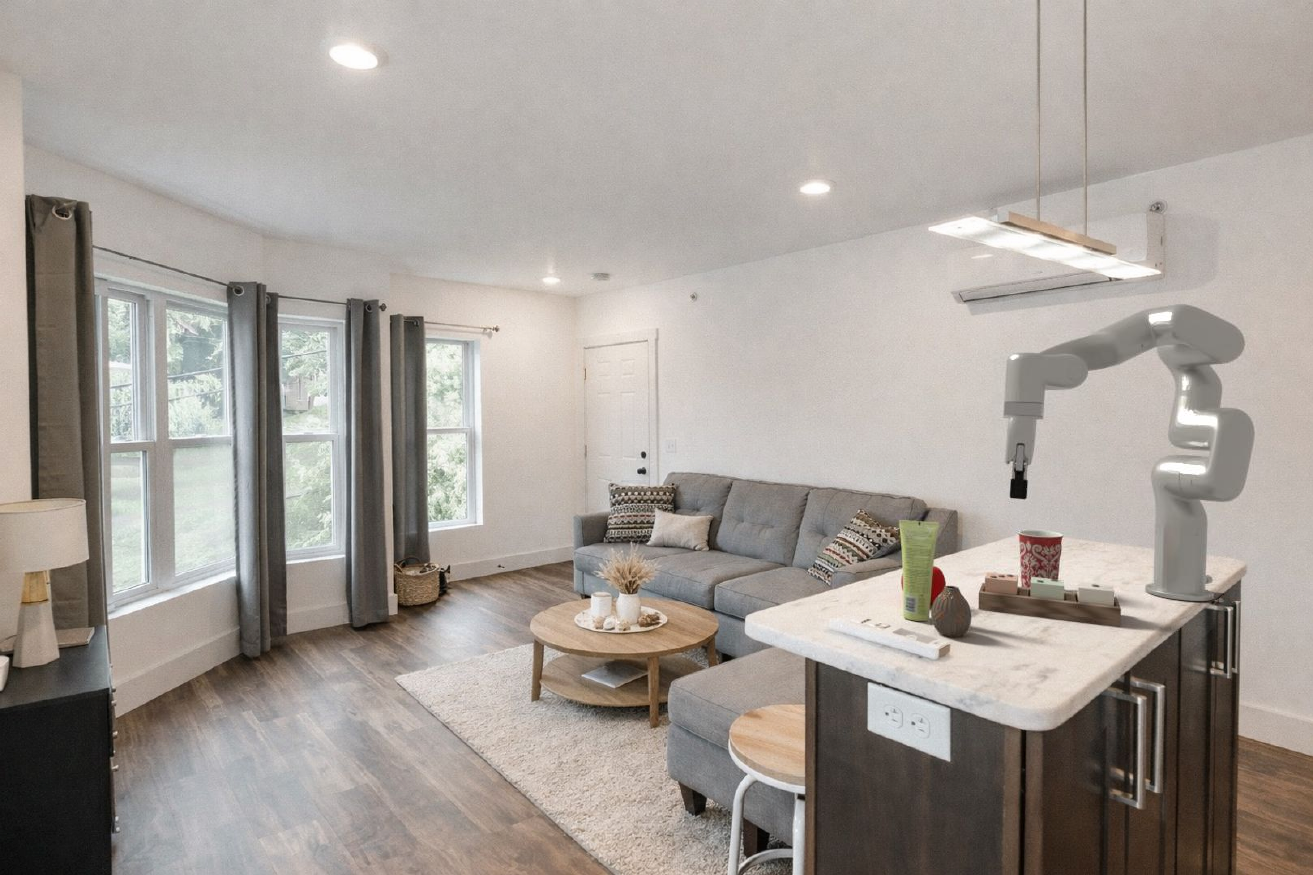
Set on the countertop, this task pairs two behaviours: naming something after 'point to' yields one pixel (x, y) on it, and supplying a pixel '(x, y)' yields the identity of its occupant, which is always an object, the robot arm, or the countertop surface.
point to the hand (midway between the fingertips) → (1018, 498)
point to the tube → (917, 566)
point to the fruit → (935, 583)
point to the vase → (951, 613)
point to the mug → (1039, 555)
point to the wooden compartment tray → (1050, 607)
